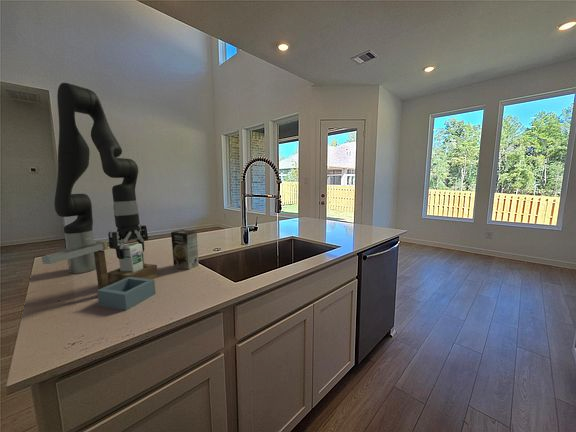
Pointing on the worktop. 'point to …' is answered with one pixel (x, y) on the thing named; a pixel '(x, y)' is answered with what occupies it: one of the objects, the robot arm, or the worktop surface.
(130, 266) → the syrup box
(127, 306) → the blue-grey hollow box
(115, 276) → the socket block
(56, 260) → the bar
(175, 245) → the coffee box
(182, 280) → the worktop surface
